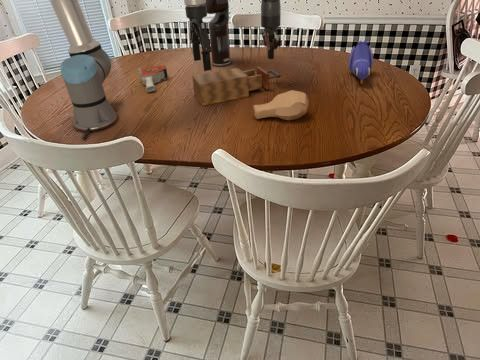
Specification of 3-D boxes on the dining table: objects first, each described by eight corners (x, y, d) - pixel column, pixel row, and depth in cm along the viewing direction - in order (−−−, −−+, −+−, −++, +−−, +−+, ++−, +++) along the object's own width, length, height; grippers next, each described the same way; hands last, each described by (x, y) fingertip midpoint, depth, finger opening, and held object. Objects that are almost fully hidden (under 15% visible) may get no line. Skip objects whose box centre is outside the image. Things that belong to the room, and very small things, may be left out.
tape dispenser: (151, 97, 154) (180, 78, 166) (148, 85, 150) (178, 68, 163) (122, 88, 161) (152, 71, 174) (119, 77, 158) (150, 61, 170)
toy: (346, 78, 167) (350, 87, 144) (349, 39, 160) (352, 43, 138) (368, 77, 164) (375, 86, 142) (372, 38, 158) (379, 42, 135)
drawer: (271, 78, 157) (271, 64, 154) (281, 86, 150) (281, 71, 146) (219, 89, 151) (218, 74, 147) (227, 97, 143) (226, 81, 140)
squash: (312, 121, 125) (311, 99, 119) (256, 131, 127) (252, 110, 121) (306, 103, 133) (305, 82, 126) (254, 113, 134) (250, 93, 128)
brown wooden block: (239, 87, 154) (238, 67, 149) (248, 96, 146) (248, 75, 141) (194, 95, 149) (192, 76, 144) (202, 105, 141) (199, 85, 136)
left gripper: (216, 9, 116) (222, 73, 129) (196, -2, 135) (202, 54, 148) (194, 12, 114) (202, 76, 127) (176, 0, 133) (184, 57, 146)
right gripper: (287, 15, 132) (286, 61, 143) (272, 9, 143) (272, 53, 153) (269, 17, 130) (269, 64, 141) (254, 11, 140) (256, 55, 151)
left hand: (202, 65), depth 137 cm, fingers open, 13 cm apart
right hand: (270, 58), depth 147 cm, fingers closed
